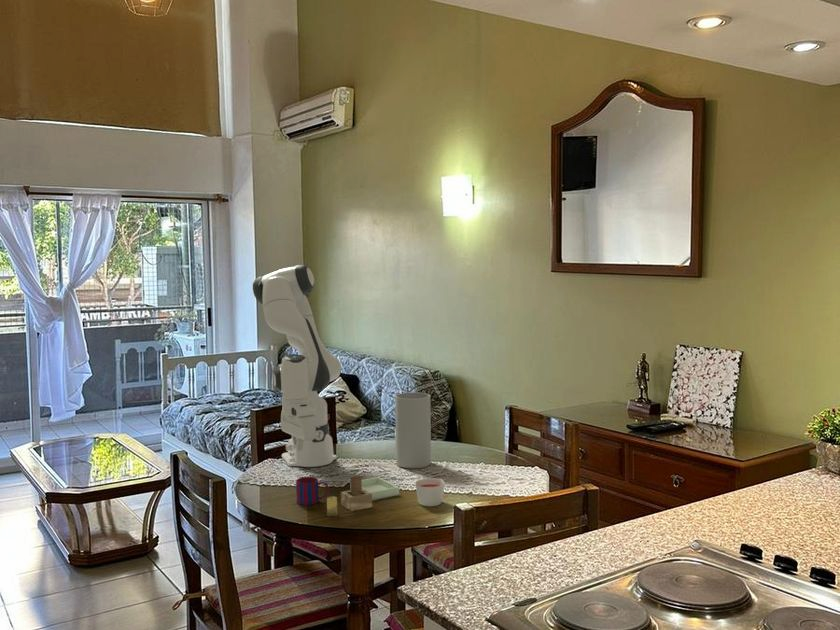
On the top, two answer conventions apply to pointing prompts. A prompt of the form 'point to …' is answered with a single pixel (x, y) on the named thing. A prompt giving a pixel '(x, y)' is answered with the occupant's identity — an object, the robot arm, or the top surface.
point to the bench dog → (332, 506)
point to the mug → (308, 490)
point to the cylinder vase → (413, 430)
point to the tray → (379, 488)
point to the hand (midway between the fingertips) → (298, 449)
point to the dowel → (356, 485)
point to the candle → (430, 491)
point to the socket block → (356, 500)
